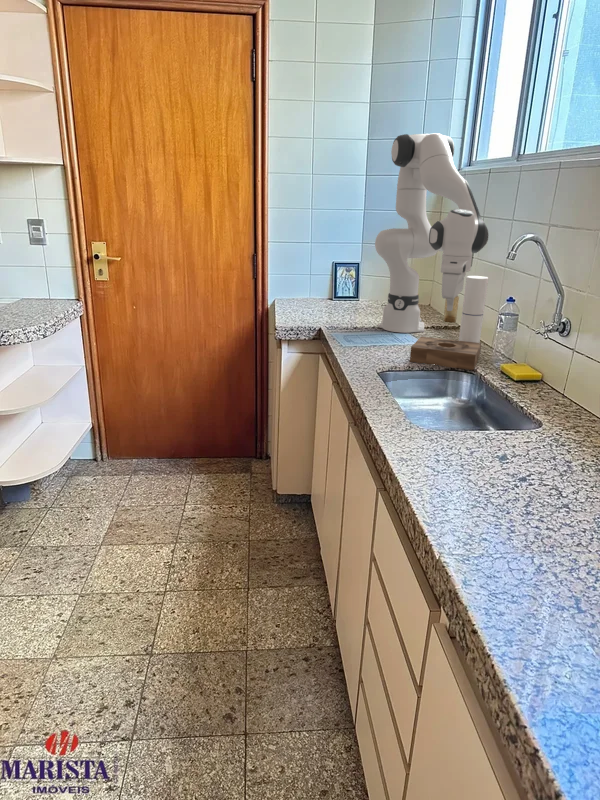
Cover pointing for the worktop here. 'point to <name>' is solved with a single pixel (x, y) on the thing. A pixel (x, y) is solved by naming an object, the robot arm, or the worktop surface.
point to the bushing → (451, 315)
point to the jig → (445, 352)
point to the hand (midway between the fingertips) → (451, 309)
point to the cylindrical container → (473, 308)
